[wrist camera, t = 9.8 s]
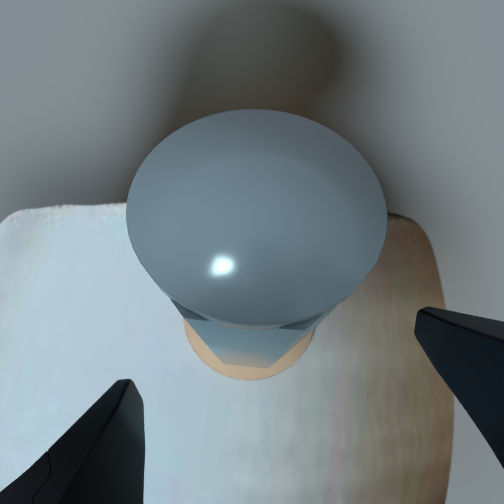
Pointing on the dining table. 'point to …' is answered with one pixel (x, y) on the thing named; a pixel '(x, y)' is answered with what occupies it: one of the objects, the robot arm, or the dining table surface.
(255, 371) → the terracotta coaster
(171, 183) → the blue-gray container
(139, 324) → the dining table surface
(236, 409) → the dining table surface
